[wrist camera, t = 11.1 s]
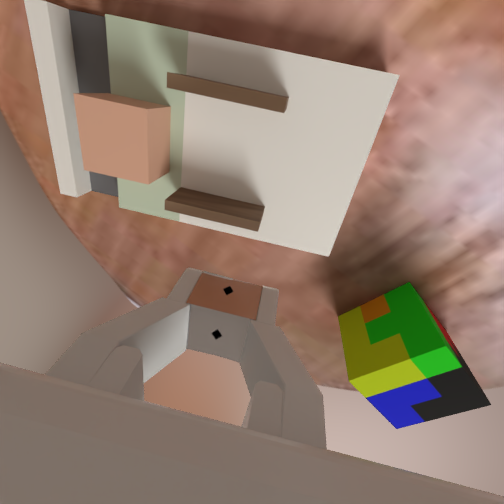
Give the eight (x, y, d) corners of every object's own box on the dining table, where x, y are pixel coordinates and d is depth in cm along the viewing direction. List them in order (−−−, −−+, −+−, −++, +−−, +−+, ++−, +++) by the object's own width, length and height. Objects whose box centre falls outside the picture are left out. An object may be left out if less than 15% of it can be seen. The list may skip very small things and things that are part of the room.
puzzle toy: (376, 358, 41) (396, 428, 32) (338, 316, 38) (348, 380, 30) (446, 331, 37) (491, 404, 28) (409, 281, 34) (446, 345, 25)
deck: (51, 6, 25) (23, -4, 23) (389, 76, 24) (399, 75, 21) (78, 185, 34) (60, 193, 31) (326, 243, 33) (328, 256, 30)
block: (107, 93, 25) (73, 93, 21) (170, 106, 25) (147, 109, 21) (113, 159, 28) (83, 169, 25) (169, 172, 28) (148, 184, 24)
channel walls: (186, 74, 24) (166, 71, 20) (289, 97, 23) (287, 98, 20) (180, 196, 29) (164, 209, 26) (263, 215, 29) (258, 231, 26)
